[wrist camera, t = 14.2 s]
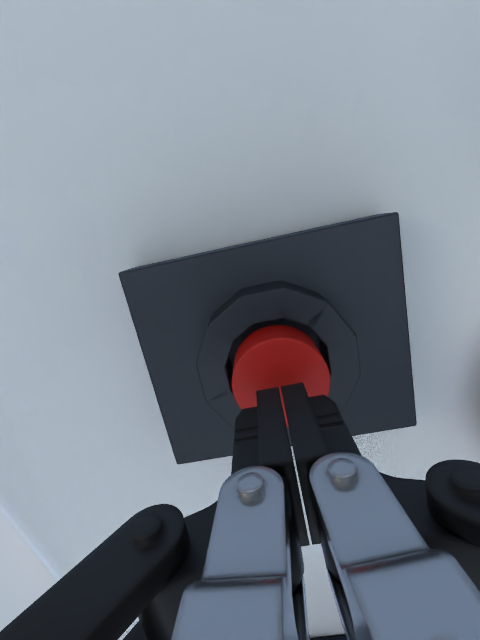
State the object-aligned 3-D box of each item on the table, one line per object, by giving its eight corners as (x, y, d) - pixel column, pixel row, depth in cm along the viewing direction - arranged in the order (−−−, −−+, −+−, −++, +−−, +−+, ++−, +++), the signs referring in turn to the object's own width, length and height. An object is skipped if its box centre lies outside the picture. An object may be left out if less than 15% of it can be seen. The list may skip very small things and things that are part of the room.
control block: (184, 439, 19) (168, 492, 15) (134, 267, 16) (98, 279, 13) (397, 402, 18) (438, 450, 14) (378, 213, 15) (421, 208, 12)
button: (243, 411, 14) (242, 435, 13) (225, 333, 13) (221, 348, 12) (326, 396, 14) (337, 419, 12) (313, 316, 13) (323, 328, 11)
